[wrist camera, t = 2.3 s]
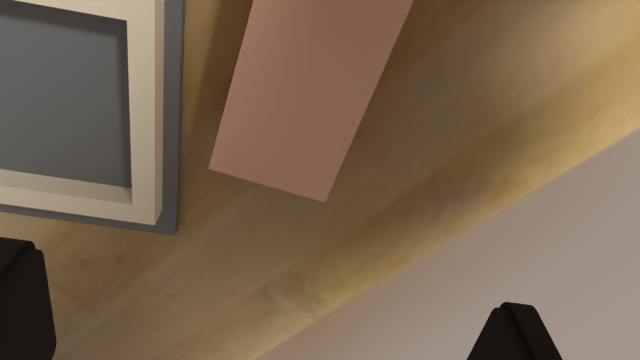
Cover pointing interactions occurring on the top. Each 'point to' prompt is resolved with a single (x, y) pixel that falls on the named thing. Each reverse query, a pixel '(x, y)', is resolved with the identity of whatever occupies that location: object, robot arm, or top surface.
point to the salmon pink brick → (303, 89)
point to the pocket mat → (92, 110)
